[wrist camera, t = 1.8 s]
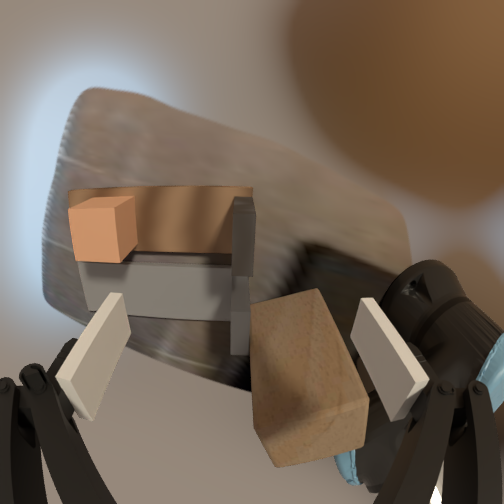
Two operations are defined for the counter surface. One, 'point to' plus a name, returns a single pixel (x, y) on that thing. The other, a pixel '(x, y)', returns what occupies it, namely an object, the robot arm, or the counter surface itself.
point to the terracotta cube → (103, 229)
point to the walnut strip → (190, 219)
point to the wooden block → (303, 381)
